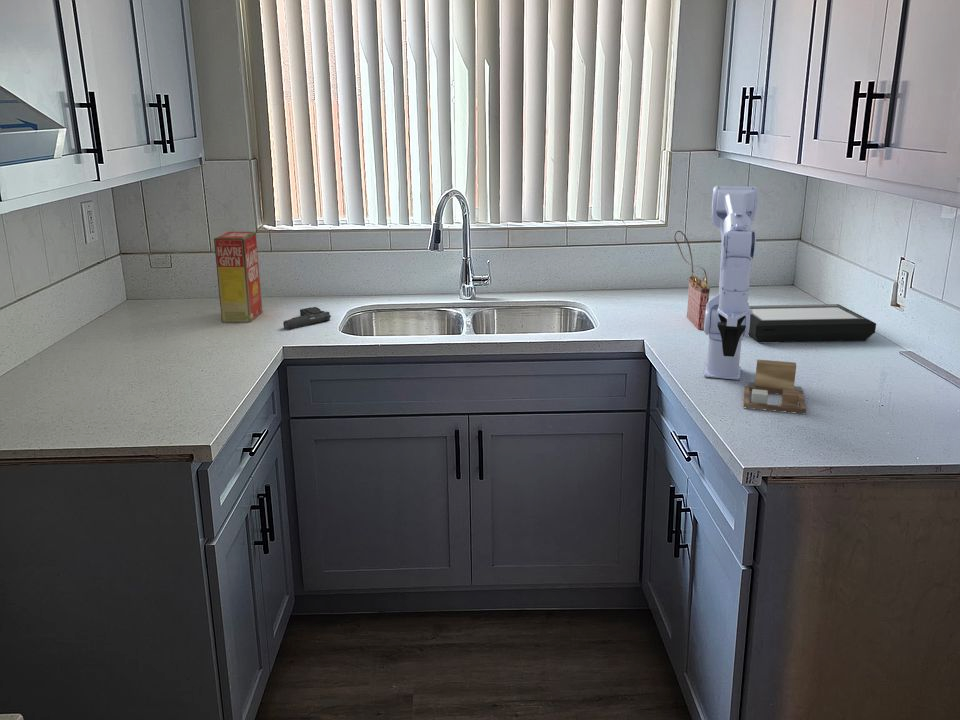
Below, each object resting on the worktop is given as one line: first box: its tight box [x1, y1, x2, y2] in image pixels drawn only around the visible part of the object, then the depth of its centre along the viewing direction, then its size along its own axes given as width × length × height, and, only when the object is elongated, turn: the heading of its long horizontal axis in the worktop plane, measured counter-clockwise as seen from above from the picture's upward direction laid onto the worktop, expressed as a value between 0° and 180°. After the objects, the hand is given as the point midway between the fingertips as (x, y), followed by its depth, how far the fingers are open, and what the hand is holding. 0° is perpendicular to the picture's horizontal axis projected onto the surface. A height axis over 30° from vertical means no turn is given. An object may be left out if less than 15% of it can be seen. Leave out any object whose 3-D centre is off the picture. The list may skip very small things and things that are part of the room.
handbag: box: [673, 230, 711, 331], centre depth 231 cm, size 7×21×25 cm, turn 179°
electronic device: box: [747, 303, 877, 343], centre depth 221 cm, size 32×6×20 cm
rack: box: [743, 385, 807, 414], centre depth 171 cm, size 12×12×1 cm
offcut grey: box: [750, 389, 769, 404], centre depth 169 cm, size 3×3×3 cm
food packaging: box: [213, 231, 264, 323], centre depth 240 cm, size 13×9×25 cm
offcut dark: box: [780, 389, 799, 407], centre depth 167 cm, size 3×3×4 cm
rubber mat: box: [748, 381, 803, 391], centre depth 178 cm, size 5×11×1 cm, turn 72°
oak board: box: [754, 359, 797, 390], centre depth 177 cm, size 2×8×6 cm, turn 72°
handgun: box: [282, 306, 332, 331], centre depth 238 cm, size 3×16×12 cm
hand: (728, 350), depth 172 cm, fingers open, 7 cm apart
